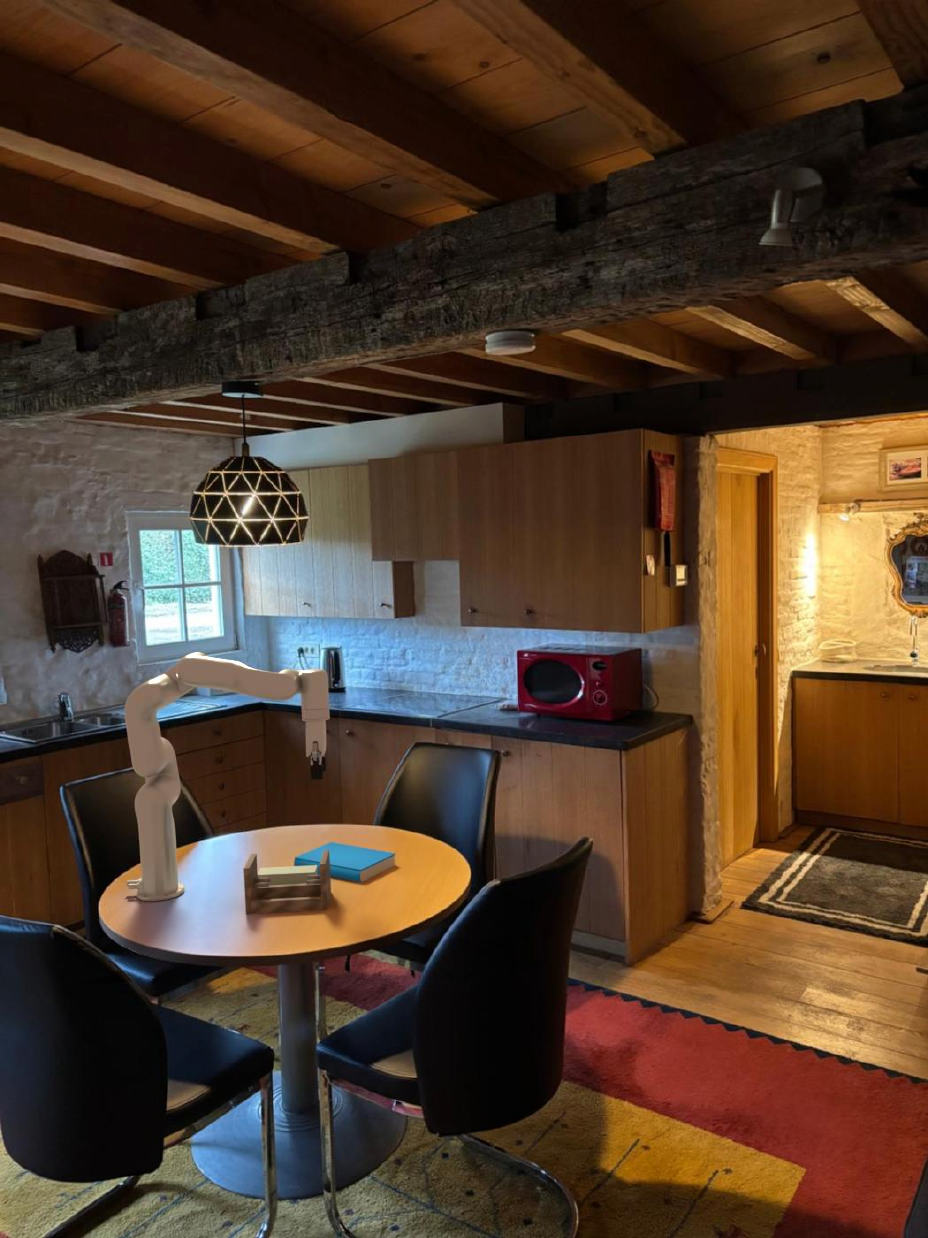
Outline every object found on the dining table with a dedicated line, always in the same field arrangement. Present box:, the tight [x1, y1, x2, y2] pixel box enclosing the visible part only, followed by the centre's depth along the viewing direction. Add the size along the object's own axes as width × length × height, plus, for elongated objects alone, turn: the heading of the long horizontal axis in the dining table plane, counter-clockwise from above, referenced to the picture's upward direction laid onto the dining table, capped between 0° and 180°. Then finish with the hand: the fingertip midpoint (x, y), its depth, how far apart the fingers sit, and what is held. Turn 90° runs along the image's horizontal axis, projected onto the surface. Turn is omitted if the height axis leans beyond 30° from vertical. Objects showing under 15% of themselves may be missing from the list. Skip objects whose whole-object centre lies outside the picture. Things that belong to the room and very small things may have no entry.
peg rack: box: [242, 850, 332, 915], centre depth 247 cm, size 21×12×12 cm, turn 94°
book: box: [293, 841, 396, 883], centre depth 275 cm, size 17×4×25 cm
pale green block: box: [258, 865, 319, 885], centre depth 260 cm, size 16×6×5 cm, turn 92°
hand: (318, 775), depth 259 cm, fingers open, 9 cm apart
